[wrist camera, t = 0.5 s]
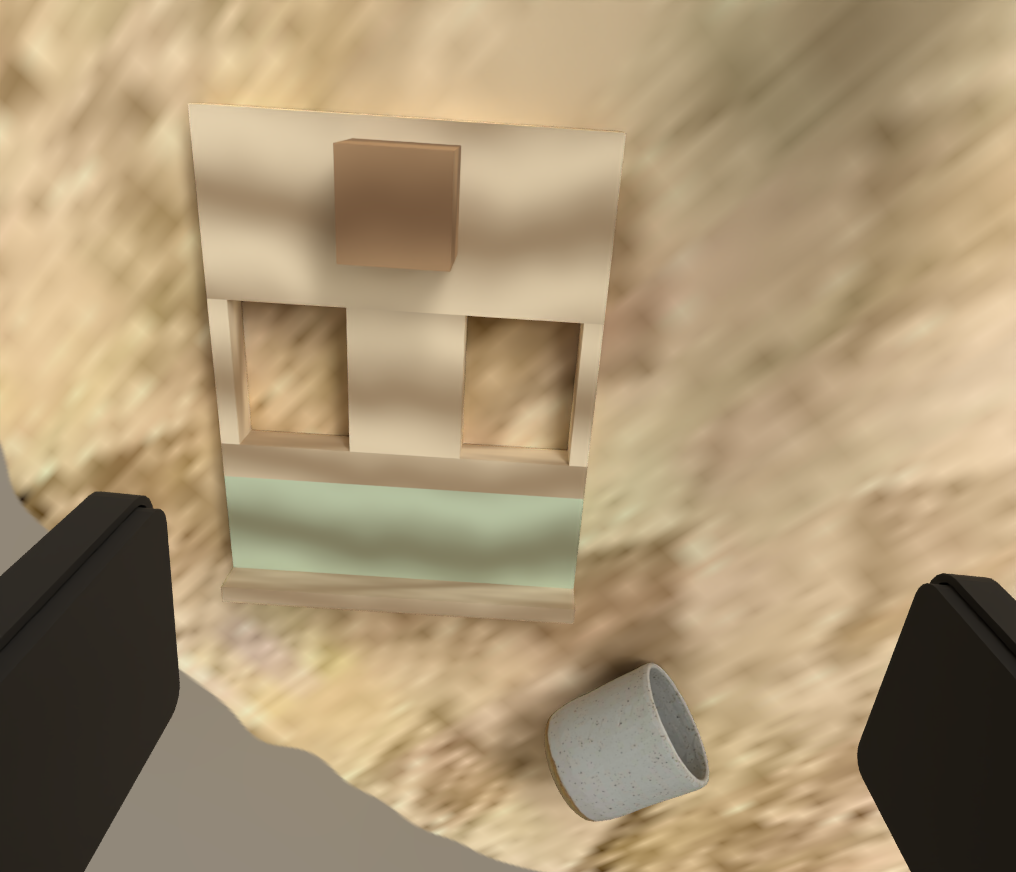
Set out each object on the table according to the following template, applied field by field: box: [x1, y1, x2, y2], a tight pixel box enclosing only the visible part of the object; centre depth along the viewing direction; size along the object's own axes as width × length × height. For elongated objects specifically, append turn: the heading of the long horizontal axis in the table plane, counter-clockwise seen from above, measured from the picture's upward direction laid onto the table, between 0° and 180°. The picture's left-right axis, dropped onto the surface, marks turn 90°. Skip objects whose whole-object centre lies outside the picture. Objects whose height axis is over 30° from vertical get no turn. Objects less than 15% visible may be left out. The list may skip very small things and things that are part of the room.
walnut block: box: [333, 138, 461, 272], centre depth 34 cm, size 5×5×4 cm
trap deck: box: [188, 103, 626, 624], centre depth 40 cm, size 26×20×4 cm
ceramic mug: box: [544, 663, 709, 821], centre depth 48 cm, size 11×8×8 cm
